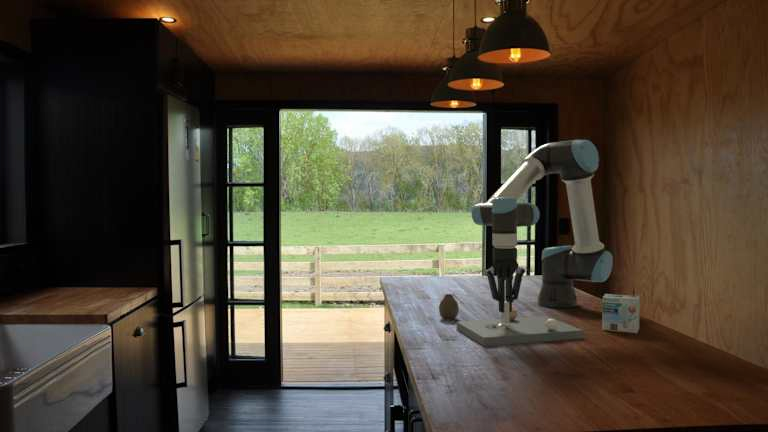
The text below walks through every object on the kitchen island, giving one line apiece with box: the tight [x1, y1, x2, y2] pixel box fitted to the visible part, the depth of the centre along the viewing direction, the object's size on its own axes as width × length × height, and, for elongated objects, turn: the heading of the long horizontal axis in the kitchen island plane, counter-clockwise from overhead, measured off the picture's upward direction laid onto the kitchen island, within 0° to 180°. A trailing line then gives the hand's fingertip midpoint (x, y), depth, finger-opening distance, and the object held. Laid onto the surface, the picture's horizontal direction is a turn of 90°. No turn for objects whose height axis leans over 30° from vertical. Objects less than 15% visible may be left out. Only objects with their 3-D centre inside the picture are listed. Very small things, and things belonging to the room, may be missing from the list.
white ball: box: [545, 318, 557, 331], centre depth 172 cm, size 4×4×4 cm
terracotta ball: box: [509, 307, 518, 320], centre depth 187 cm, size 4×4×4 cm
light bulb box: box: [601, 293, 640, 334], centre depth 182 cm, size 11×7×11 cm, turn 62°
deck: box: [456, 315, 584, 347], centre depth 179 cm, size 32×22×2 cm
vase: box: [438, 293, 459, 321], centre depth 202 cm, size 7×7×9 cm
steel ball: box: [496, 324, 506, 329], centre depth 177 cm, size 4×4×4 cm
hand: (505, 322), depth 178 cm, fingers closed
